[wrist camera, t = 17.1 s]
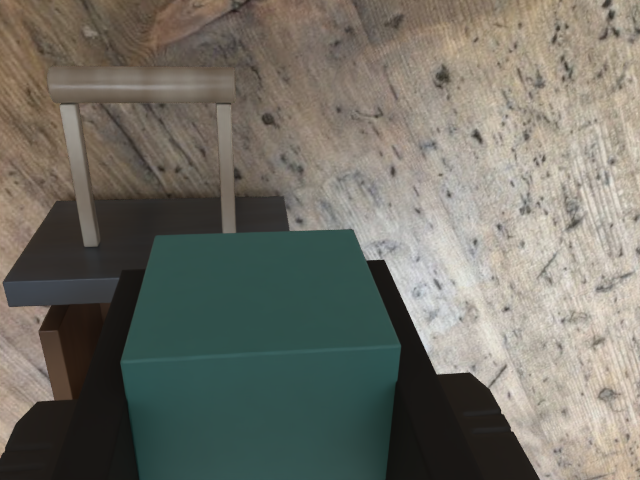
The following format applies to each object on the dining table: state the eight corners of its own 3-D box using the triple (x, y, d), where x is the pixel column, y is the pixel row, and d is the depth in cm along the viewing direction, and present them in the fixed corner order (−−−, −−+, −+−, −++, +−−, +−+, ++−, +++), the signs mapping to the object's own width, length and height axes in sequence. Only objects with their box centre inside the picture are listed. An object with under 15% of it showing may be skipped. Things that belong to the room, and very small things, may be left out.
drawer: (26, 43, 26) (-50, 83, 19) (284, 46, 28) (300, 85, 21) (95, 402, 36) (61, 514, 29) (283, 391, 38) (293, 495, 31)
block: (155, 234, 13) (118, 361, 9) (353, 227, 14) (402, 345, 10) (171, 391, 15) (149, 552, 11) (345, 381, 16) (381, 529, 12)
